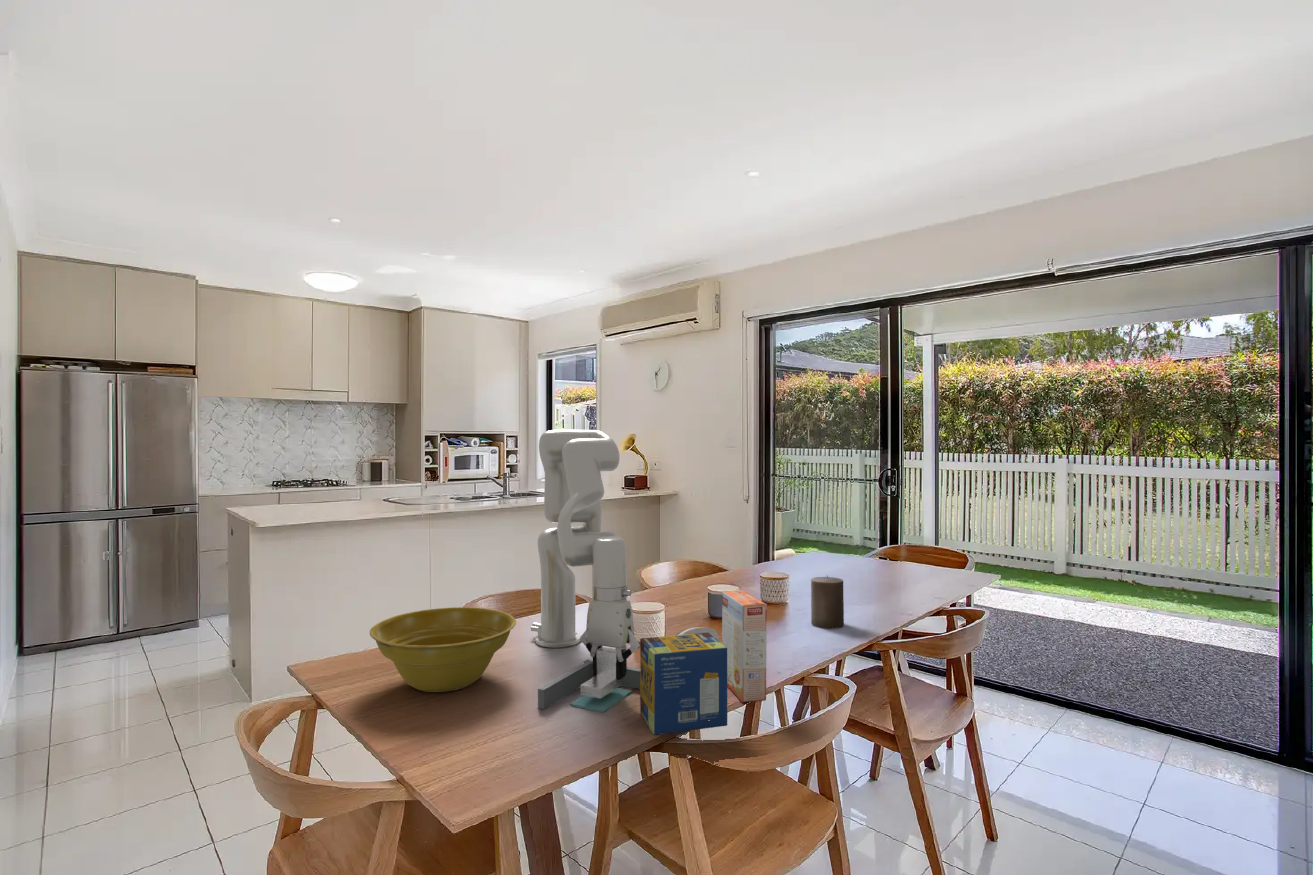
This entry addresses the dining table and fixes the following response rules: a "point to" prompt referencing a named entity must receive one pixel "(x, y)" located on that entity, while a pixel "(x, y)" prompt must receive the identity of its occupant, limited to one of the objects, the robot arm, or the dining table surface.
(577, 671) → the corner walls
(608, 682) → the grey l-shaped block
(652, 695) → the protein box
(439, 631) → the planter bowl
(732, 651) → the cracker box
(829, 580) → the pillar candle
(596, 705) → the mat
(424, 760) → the dining table surface
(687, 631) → the white black slab
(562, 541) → the robot arm
